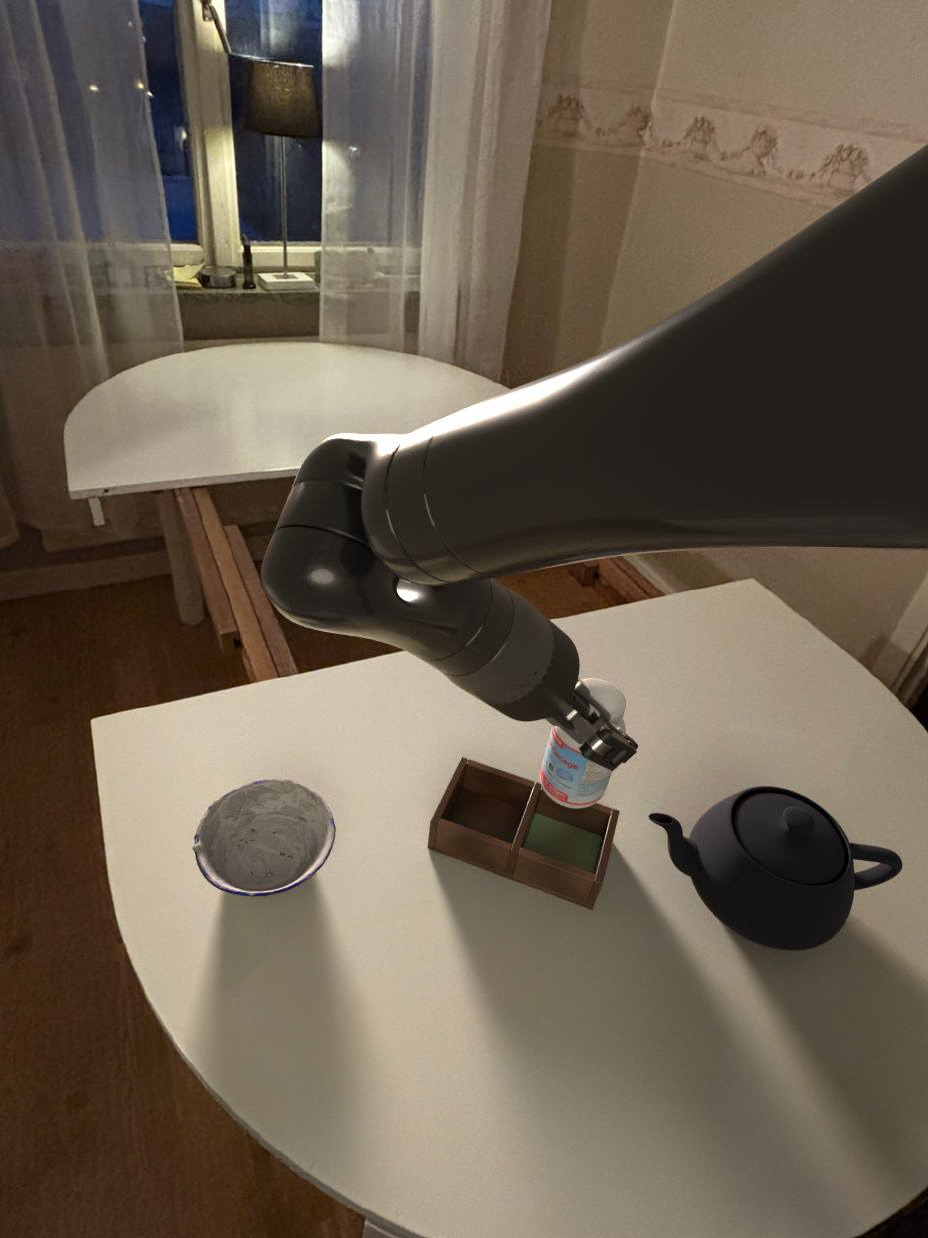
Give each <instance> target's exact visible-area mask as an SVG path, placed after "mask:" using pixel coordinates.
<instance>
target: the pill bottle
mask: <svg viewBox="0 0 928 1238" xmlns="http://www.w3.org/2000/svg"><path fill="white" fill-rule="evenodd" d="M581 680H582V681H583V682H584V683H585V685H586V686H587V687H588V689H589V690H590V693H591V694H592V695H593V696H594V697H595V698H596V699H597V700H599V701H600V702H601V703H602V704H603V705H604V706H605V707H606V709H607V710H608V712H609V713H610V715H611V719H610V720H611V721H612V722H613V723H614V724H615V725H616V726H617V727H618V728H619V727H620V728H621V729H622V730H623V731H624V733H626V729H627V728H626V722H625V719H624V716H625V711H626V709H627V708H626V707H627V699H626V697H625V695H624V693H623V692H622V691H621V689H619V687H617V686H616V685H614V684H613V683H611V682H609V681H607V680H604V679H600V678H591V677H589V678H583V679H581ZM594 710H595V708H594V707H593V706H592V705H590V712H589V715H591V714H592V713H593V712H594ZM581 745H582V744H578V743H577V742H575V741H574V740H573V739H572V738H571V737H570V736H569V735H568V734H566V733H565V732H564V731H563V730H562V729H561V728H560V727H558V726H553V725H551V729H550V733H549V736H548V740H547V744H546V748H545V752H544V755H543V759H542V763H541V767H540V771H539V782H540V784H541V785H542V788H543V790H544V791H545V793H546V794H547V795H548V796H549V797H550V798H551V799H552V800H553V801H555V802H556V803H558V804H560V805H562V806H565V807H568V808H585V807H589V806H591V805H593V804H595V803H598V802H599V801H600V800H602V798H603V797H604V795H605V793H606V791H607V787H608V784H609V782H610V779H611V777H612V774H613V771H611V770H609V769H607V768H604V767H602V766H600V765H598V764H596V763H594V762H592V761H590V760H588V759H587V758H584V757H583V756H582V755H581V751H580V750H579V747H580V746H581Z"/></svg>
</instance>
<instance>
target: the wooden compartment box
mask: <svg viewBox="0 0 928 1238" xmlns="http://www.w3.org/2000/svg"><path fill="white" fill-rule="evenodd" d="M620 813H621V811H620V810H619V809H615V808H613V807H609V806H607V805H604V804H600V803H598V802H597V803H595V804H593V805H591V806H589V807H585V808H568V807H565V806H562V805H560V804H558V803H556V802H555V801H553V800H552V799H551V798H550V797H549V796H548V795H547V794H546V793H545V791H544V790H543V788H542V785H541V782H540V783H539V782H535V781H534V780H531V779H528V778H525V777H523V776H519V775H517V774H514V773H511V772H508V771H505V770H502V769H499V768H496V767H493V766H491V765H488V764H484V763H482V762H479V761H476V760H473V759H470V758H467V757H464V756H461V757H460V759H459V760H458V763H457V765H456V767H455V769H454V771H453V773H452V776H451V777H450V780H449V782H448V784H447V786H446V787H445V790H444V792H443V794H442V796H441V799H440V800H439V803H438V804H437V807H436V809H435V811H434V812H433V815H432V816H431V819H430V821H429V830H428V831H429V832H428V839H427V849H428V850H431V851H433V852H435V853H438V854H440V855H444V856H446V857H450V858H451V859H454V860H457V861H460V862H463V863H465V864H468V865H471V866H473V867H476V868H479V869H482V870H484V871H486V872H489V873H491V874H495V875H497V876H500V877H502V878H505V879H508V880H510V881H513V882H516V883H519V884H522V885H524V886H526V887H529V888H532V889H534V890H538V891H540V892H542V893H546V894H548V895H550V896H553V897H556V898H559V899H561V900H563V901H566V902H569V903H572V904H575V905H577V906H579V907H583V908H585V909H587V910H591V911H594V908H595V905H596V903H597V900H598V898H599V896H600V892H601V890H602V887H603V885H604V880H605V876H606V872H607V868H608V864H609V861H610V860H609V859H610V855H611V850H612V847H613V842H614V837H615V834H616V830H617V824H618V820H619V816H620Z"/></svg>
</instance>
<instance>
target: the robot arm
mask: <svg viewBox="0 0 928 1238" xmlns="http://www.w3.org/2000/svg"><path fill="white" fill-rule="evenodd" d="M763 548H765V549H767V548H771V549H772V548H807V549H808V548H809V549H810V548H811V549H854V550H855V549H857V550H889V551H890V550H891V551H892V550H893V551H894V550H895V551H928V143H927V144H925V145H923V146H922V147H921V148H919V149H918V150H916V151H915V152H913V153H912V154H911V155H909V156H908V157H906V158H905V159H903V160H902V161H901V162H899V163H898V164H896V165H894V166H893V167H892V168H890V169H889V170H888V171H886V172H885V173H883V174H882V175H880V176H879V177H877V178H876V179H875V180H873V181H871V182H870V183H868V185H866V186H864V187H863V188H862V189H860V190H859V191H857V192H856V193H854V194H853V195H851V196H850V197H849V198H847V199H846V200H844V201H842V202H841V203H840V204H838V205H837V206H835V207H834V208H832V209H831V210H829V211H828V212H826V213H825V214H824V215H822V216H820V217H819V218H818V219H816V220H814V221H813V222H811V224H809V225H807V226H805V227H804V228H803V229H802V230H800V231H798V232H797V233H796V234H794V235H793V236H791V237H790V238H789V239H787V240H786V241H784V242H783V243H781V244H779V245H778V246H777V247H775V248H774V249H773V250H771V251H769V252H768V253H767V254H765V255H763V256H762V257H761V258H759V259H758V260H755V262H754V263H752V264H751V265H749V266H747V267H746V268H743V270H741V271H740V272H738V273H737V274H735V275H733V276H732V277H731V278H730V279H728V280H726V281H725V282H723V283H722V284H721V285H719V286H717V287H715V288H714V289H712V290H711V291H709V292H707V293H705V294H703V296H702V295H701V297H699V298H697V299H696V300H694V301H692V302H691V303H689V304H687V305H685V306H684V307H682V308H680V309H679V310H678V311H676V312H674V313H672V314H671V315H668V316H667V317H665V318H663V319H662V320H660V321H659V322H657V323H655V324H653V325H651V326H649V327H647V328H646V329H643V330H642V331H640V332H639V333H637V334H635V335H633V336H632V337H629V338H628V339H625V340H624V341H622V342H620V343H618V344H616V345H614V346H612V347H610V348H609V349H607V350H605V351H602V352H601V353H599V354H596V355H594V356H592V357H589V358H587V359H585V360H583V361H581V362H579V363H576V364H573V365H571V366H568V367H566V368H564V369H561V370H558V371H555V372H553V373H551V374H550V373H549V374H548V375H546V376H543V377H540V378H538V379H535V380H531V381H529V382H527V383H524V384H522V385H521V384H520V385H519V386H516V387H513V388H511V389H509V390H505V391H504V392H501V393H498V394H496V395H494V396H491V397H489V398H486V399H484V400H481V401H479V402H477V403H474V404H471V405H469V406H467V407H465V408H463V409H459V410H458V411H456V412H453V413H451V414H449V415H446V416H445V417H442V418H440V419H438V420H436V421H434V422H431V423H429V424H427V425H425V426H422V427H420V428H419V429H416V430H414V431H413V432H411V433H407V432H406V433H398V432H397V433H339V434H335V435H332V436H330V437H327V438H325V439H323V441H321V442H320V443H319V444H318V445H316V446H315V447H314V448H313V449H312V450H311V451H310V452H309V454H308V455H307V456H306V458H305V459H304V460H303V462H302V463H301V465H300V467H299V470H298V471H297V474H296V476H295V478H294V481H293V484H292V486H291V489H290V492H289V494H288V496H287V498H286V500H285V504H284V506H283V508H282V511H281V514H280V516H279V518H278V521H277V524H276V527H275V529H274V532H273V534H272V536H271V539H270V541H269V544H268V546H267V548H266V551H265V554H264V555H263V558H262V559H263V560H262V562H261V568H260V581H261V584H262V588H263V590H264V593H265V595H266V597H267V599H268V601H270V603H271V604H272V606H273V607H274V608H275V609H276V610H277V612H278V613H279V614H281V615H282V616H283V617H284V618H285V619H287V620H288V621H290V622H292V623H294V624H296V625H299V626H301V627H304V628H306V629H307V628H308V629H312V630H315V631H320V632H326V633H331V634H336V635H337V634H338V635H344V636H351V637H358V638H364V639H369V640H372V641H377V642H381V643H384V644H387V645H390V646H393V647H396V648H399V649H401V650H403V651H405V652H407V653H409V654H411V655H412V656H414V657H416V658H417V659H419V660H421V661H423V662H424V663H425V664H428V665H429V666H430V667H433V668H434V669H436V670H437V671H439V672H441V674H442V675H444V676H445V678H447V679H448V680H449V681H450V682H451V683H452V684H454V685H455V686H456V687H458V688H459V689H461V690H463V691H464V692H466V693H467V694H469V695H471V696H472V697H474V698H475V699H477V700H479V701H481V702H483V703H484V704H486V705H488V706H489V707H491V708H492V709H494V710H496V711H497V712H499V713H500V714H502V715H504V716H506V717H507V718H509V719H511V720H514V721H517V722H525V723H526V722H527V723H528V722H529V723H530V722H536V721H542V720H545V721H547V722H548V723H549V724H550V725H551V726H552V725H553V726H558V727H560V728H561V729H562V730H563V731H564V732H565V733H566V734H568V735H569V736H570V737H571V738H572V739H573V740H574V741H575V742H577V743H578V744H582V745H581V746H580V747H579V750H580V751H581V755H582V756H583V757H584V758H587V759H588V760H590V761H592V762H594V763H596V764H598V765H600V766H602V767H604V768H607V769H609V770H611V771H612V772H614V771H615V770H616V769H617V768H618V767H619V766H621V765H622V764H626V763H627V762H628V761H629V760H630V759H631V758H632V757H634V756H635V755H636V754H637V753H638V751H637V750H638V748H639V744H638V743H637V742H636V741H635V739H634V738H633V737H632V736H630V735H628V734H627V733H626V732H625V733H624V731H623V730H622V729H621V728H620V727H619V728H618V727H617V726H616V725H615V724H614V723H613V722H612V721H611V720H610V719H611V715H610V713H609V712H608V710H607V709H606V707H605V706H604V705H603V704H602V703H601V702H600V701H599V700H597V699H596V698H595V697H594V696H593V695H592V694H591V693H590V690H589V689H588V687H587V686H586V685H585V683H584V682H583V681H582V680H583V679H581V678H580V668H581V662H580V655H579V652H578V649H577V647H576V644H575V643H574V641H573V640H572V639H571V637H570V636H569V635H568V634H567V633H566V632H565V631H564V630H562V629H561V628H560V627H558V626H557V625H556V624H555V623H554V622H553V621H552V620H550V619H549V617H547V616H545V615H544V614H543V612H541V611H540V610H538V609H537V608H536V607H535V606H534V605H532V603H531V602H529V600H527V599H526V598H525V597H523V596H522V595H520V594H519V593H517V592H516V591H515V590H512V589H510V588H509V587H506V586H505V585H504V584H502V583H501V582H500V581H498V579H496V578H501V577H507V576H512V575H517V574H518V575H519V574H524V573H528V572H535V571H540V570H545V569H551V568H555V567H556V568H557V567H560V566H569V565H574V564H579V563H585V562H590V561H596V560H603V559H610V558H618V557H625V556H632V555H642V554H643V555H644V554H653V553H654V554H655V553H664V552H665V553H667V552H681V551H682V552H683V551H700V550H701V551H702V550H721V549H722V550H727V549H728V550H729V549H763ZM590 705H592V706H593V707H594V708H595V710H594V712H593V713H592V714H591V715H589V712H590Z"/></svg>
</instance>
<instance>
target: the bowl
mask: <svg viewBox="0 0 928 1238" xmlns="http://www.w3.org/2000/svg"><path fill="white" fill-rule="evenodd" d="M336 833H337V827H336V825H335V820H334V816H333V813H332V811H331V809H330V806H329V805H328V804H327V802H326V801H325V800H324V798H323V797H322V796H321V795H320V794H319V793H317V792H316V791H315V790H313V789H312V788H310V787H308V786H307V785H306V784H304V783H301V782H298V781H293V780H290V779H285V778H271V779H270V778H269V779H263V780H255V781H253V782H250V783H246V784H243V785H241V786H239V787H237V788H235V789H232V790H230V791H229V792H227V793H226V794H224V795H223V796H221V797H219V798H218V799H215V800H214V801H213V802H211V803H210V805H208V808H207V810H206V811H205V812H204V814H203V816H202V818H201V820H200V821H199V823H198V825H197V829H196V832H195V834H194V837H193V839H194V845H193V846H192V848H191V849H192V850H193V852H194V855H195V856H194V857H195V862H196V865H197V868H198V870H199V871H200V873H201V875H202V876H203V878H204V879H205V880H206V881H207V882H208V883H209V884H210V885H211V886H213V887H214V888H216V889H217V890H219V891H222V892H225V893H228V894H231V895H236V896H241V897H247V898H254V899H269V898H274V897H278V896H281V895H283V894H286V893H287V892H290V891H291V890H294V889H295V888H296V887H299V886H300V885H302V884H303V883H305V882H306V881H308V880H310V879H311V878H312V877H313V876H314V875H316V873H317V872H318V871H319V870H320V869H321V868H322V867H323V866H324V865H325V863H326V862H327V861H328V858H329V856H330V854H331V852H332V850H333V848H334V845H335V844H334V843H335V840H336Z"/></svg>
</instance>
